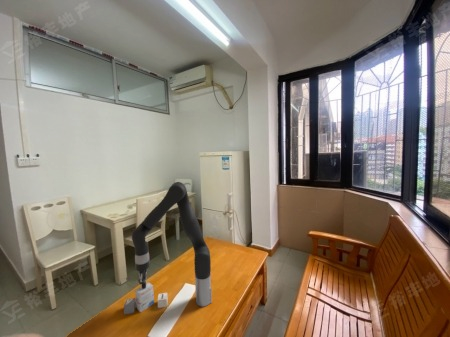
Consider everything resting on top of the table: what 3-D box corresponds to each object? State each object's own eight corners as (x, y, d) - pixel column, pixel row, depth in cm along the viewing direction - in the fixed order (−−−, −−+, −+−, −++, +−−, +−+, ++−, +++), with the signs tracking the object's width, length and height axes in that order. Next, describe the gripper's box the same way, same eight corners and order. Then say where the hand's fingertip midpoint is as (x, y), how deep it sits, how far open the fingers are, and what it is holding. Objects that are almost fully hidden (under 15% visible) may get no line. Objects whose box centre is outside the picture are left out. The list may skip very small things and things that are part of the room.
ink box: (150, 299, 116) (148, 281, 115) (154, 303, 113) (153, 285, 112) (136, 308, 110) (134, 289, 108) (140, 313, 106) (139, 294, 105)
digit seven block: (136, 305, 111) (135, 297, 111) (133, 312, 107) (133, 304, 106) (127, 307, 110) (126, 299, 110) (124, 314, 106) (123, 306, 105)
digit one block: (167, 299, 115) (167, 292, 115) (166, 306, 110) (166, 298, 110) (159, 301, 114) (158, 293, 114) (158, 308, 109) (157, 300, 109)
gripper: (147, 266, 102) (148, 295, 104) (151, 252, 115) (152, 278, 117) (132, 268, 100) (134, 297, 103) (138, 254, 113) (139, 280, 115)
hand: (144, 287), depth 110 cm, fingers closed
